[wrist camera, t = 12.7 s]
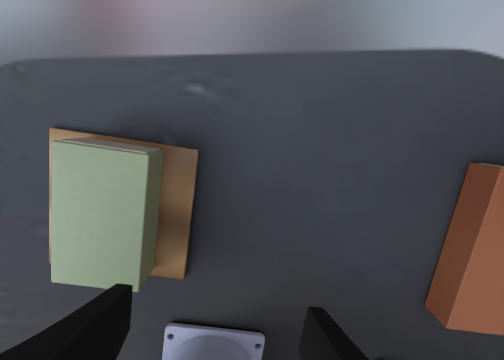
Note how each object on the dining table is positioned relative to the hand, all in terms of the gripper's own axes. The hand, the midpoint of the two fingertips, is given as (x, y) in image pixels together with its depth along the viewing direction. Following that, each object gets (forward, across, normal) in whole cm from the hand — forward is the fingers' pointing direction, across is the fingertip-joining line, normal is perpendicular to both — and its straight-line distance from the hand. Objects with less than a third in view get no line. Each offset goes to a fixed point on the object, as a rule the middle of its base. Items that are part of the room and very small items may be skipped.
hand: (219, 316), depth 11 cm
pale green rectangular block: (+9, +8, 0) cm, 12 cm away
